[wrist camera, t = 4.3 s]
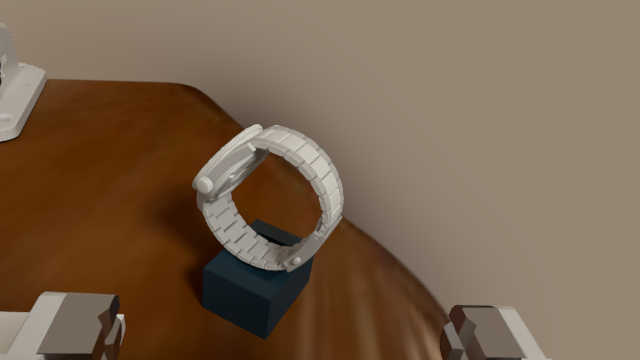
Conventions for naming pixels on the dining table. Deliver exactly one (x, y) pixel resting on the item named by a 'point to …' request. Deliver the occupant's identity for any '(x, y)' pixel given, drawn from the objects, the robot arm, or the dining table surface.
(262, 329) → the watch
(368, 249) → the dining table surface
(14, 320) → the charging pad
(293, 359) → the dining table surface
